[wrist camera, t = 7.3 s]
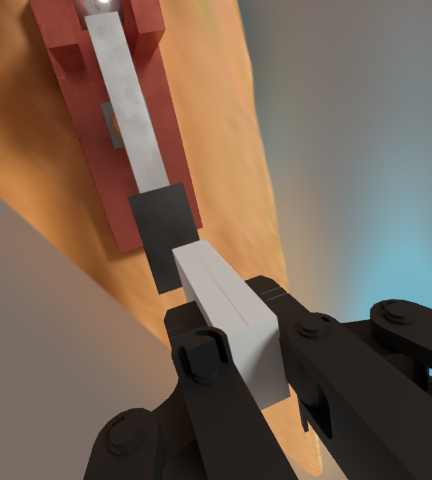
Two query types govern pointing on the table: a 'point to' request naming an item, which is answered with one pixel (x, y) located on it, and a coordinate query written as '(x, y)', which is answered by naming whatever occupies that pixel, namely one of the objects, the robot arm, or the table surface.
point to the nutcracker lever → (139, 146)
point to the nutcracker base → (95, 92)
